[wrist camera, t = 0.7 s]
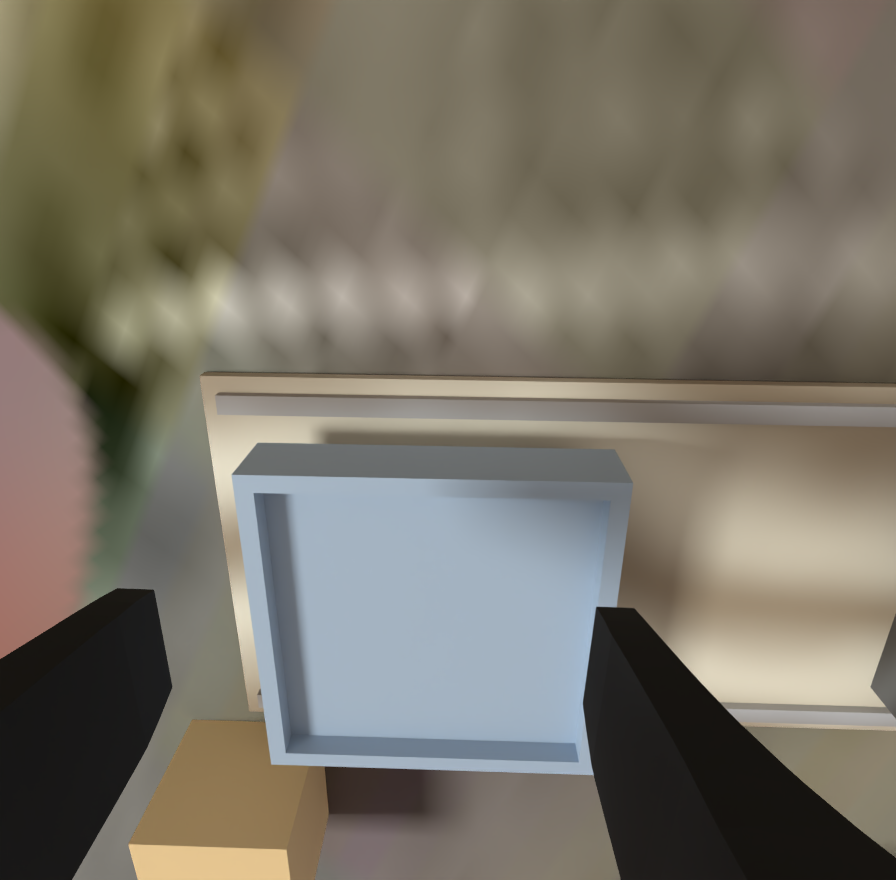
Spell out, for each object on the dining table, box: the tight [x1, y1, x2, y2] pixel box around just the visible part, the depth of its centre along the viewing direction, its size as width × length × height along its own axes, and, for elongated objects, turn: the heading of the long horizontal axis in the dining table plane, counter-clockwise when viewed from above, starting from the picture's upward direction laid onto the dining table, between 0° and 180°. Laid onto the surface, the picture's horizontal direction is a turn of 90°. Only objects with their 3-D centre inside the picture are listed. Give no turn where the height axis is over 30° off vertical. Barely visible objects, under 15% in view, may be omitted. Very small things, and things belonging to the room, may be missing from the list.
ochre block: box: [128, 720, 329, 880], centre depth 23 cm, size 5×5×5 cm
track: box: [200, 372, 896, 731], centre depth 20 cm, size 13×25×2 cm, turn 90°
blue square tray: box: [232, 443, 633, 775], centre depth 19 cm, size 10×10×3 cm
